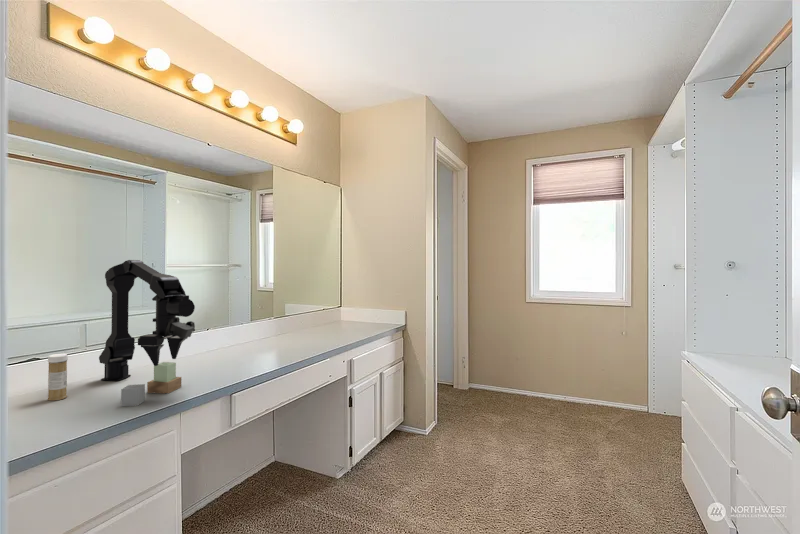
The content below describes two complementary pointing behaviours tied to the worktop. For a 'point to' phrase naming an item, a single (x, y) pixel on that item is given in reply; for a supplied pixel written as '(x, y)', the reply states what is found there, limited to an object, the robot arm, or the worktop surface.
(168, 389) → the base block
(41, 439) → the worktop surface
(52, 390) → the sprinkles bottle
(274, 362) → the worktop surface
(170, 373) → the sage block
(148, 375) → the worktop surface
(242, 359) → the worktop surface
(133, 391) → the slate block
